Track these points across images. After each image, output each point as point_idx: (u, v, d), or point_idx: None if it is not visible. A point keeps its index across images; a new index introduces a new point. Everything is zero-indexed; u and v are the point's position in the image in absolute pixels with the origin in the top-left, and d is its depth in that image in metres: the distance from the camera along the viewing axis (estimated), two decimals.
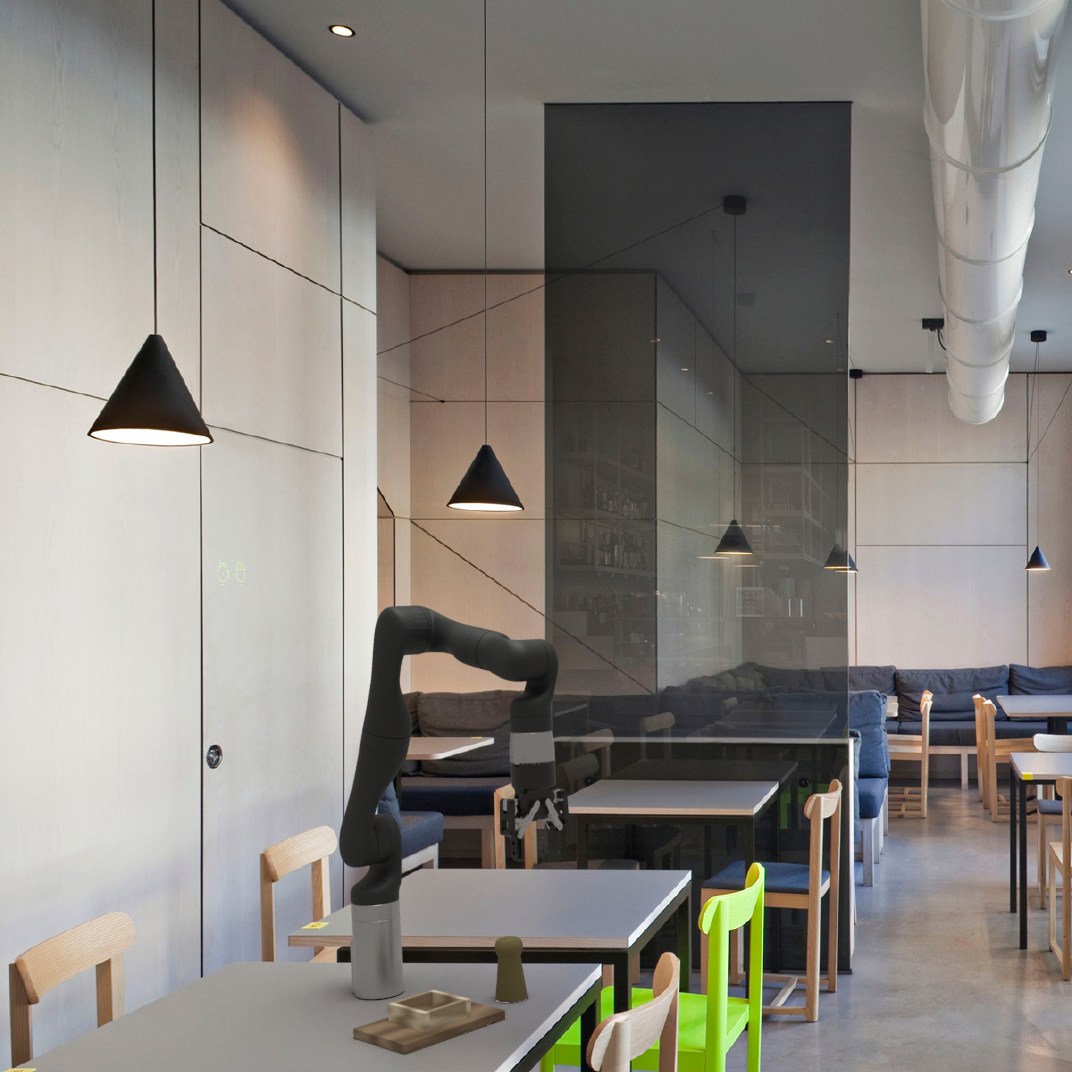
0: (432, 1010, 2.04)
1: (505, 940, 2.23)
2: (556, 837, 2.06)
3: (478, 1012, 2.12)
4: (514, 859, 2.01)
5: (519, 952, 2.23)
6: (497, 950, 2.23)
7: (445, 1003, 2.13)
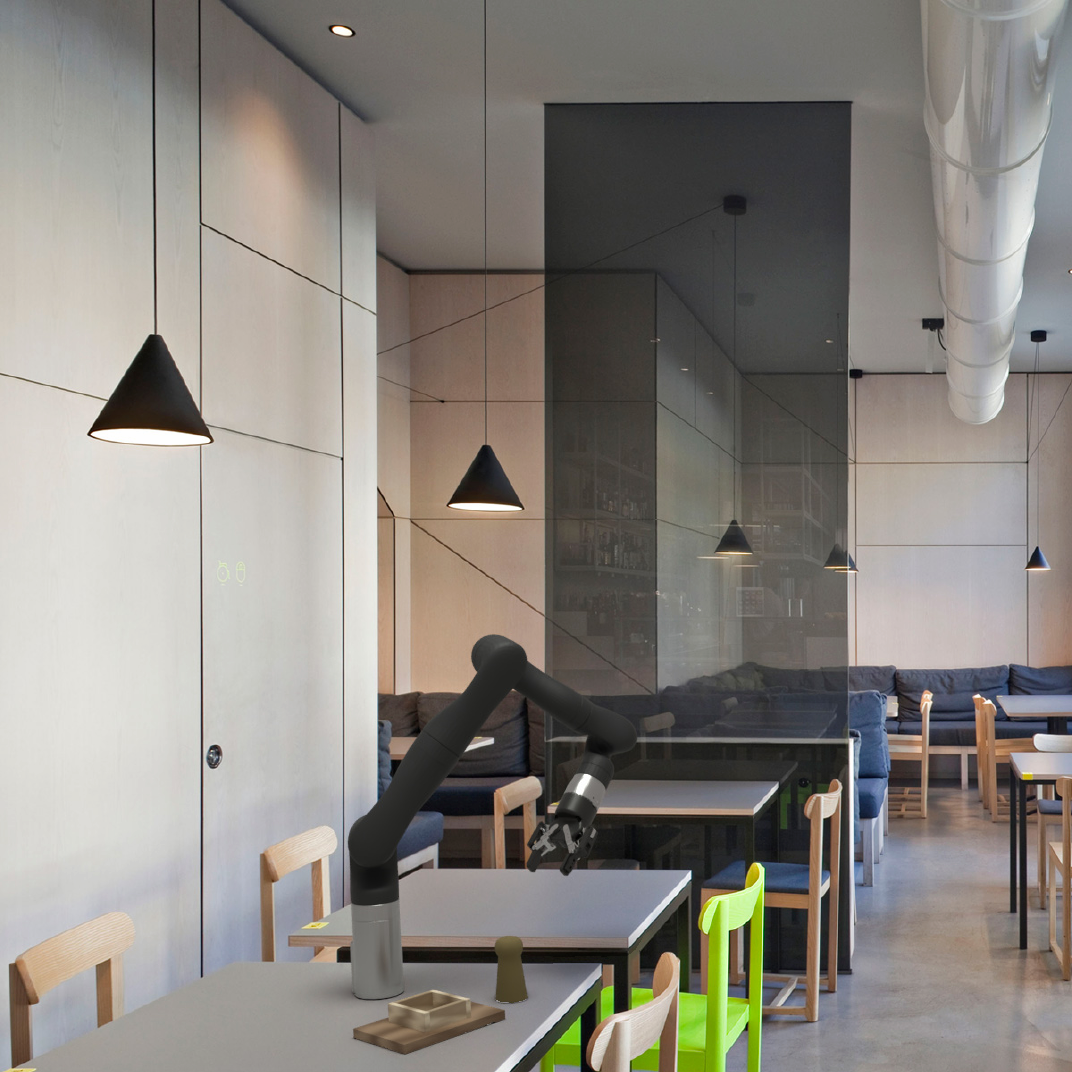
0: (432, 1010, 2.04)
1: (505, 940, 2.23)
2: (539, 861, 2.39)
3: (478, 1012, 2.12)
4: (563, 870, 2.31)
5: (519, 952, 2.23)
6: (497, 950, 2.23)
7: (445, 1003, 2.13)
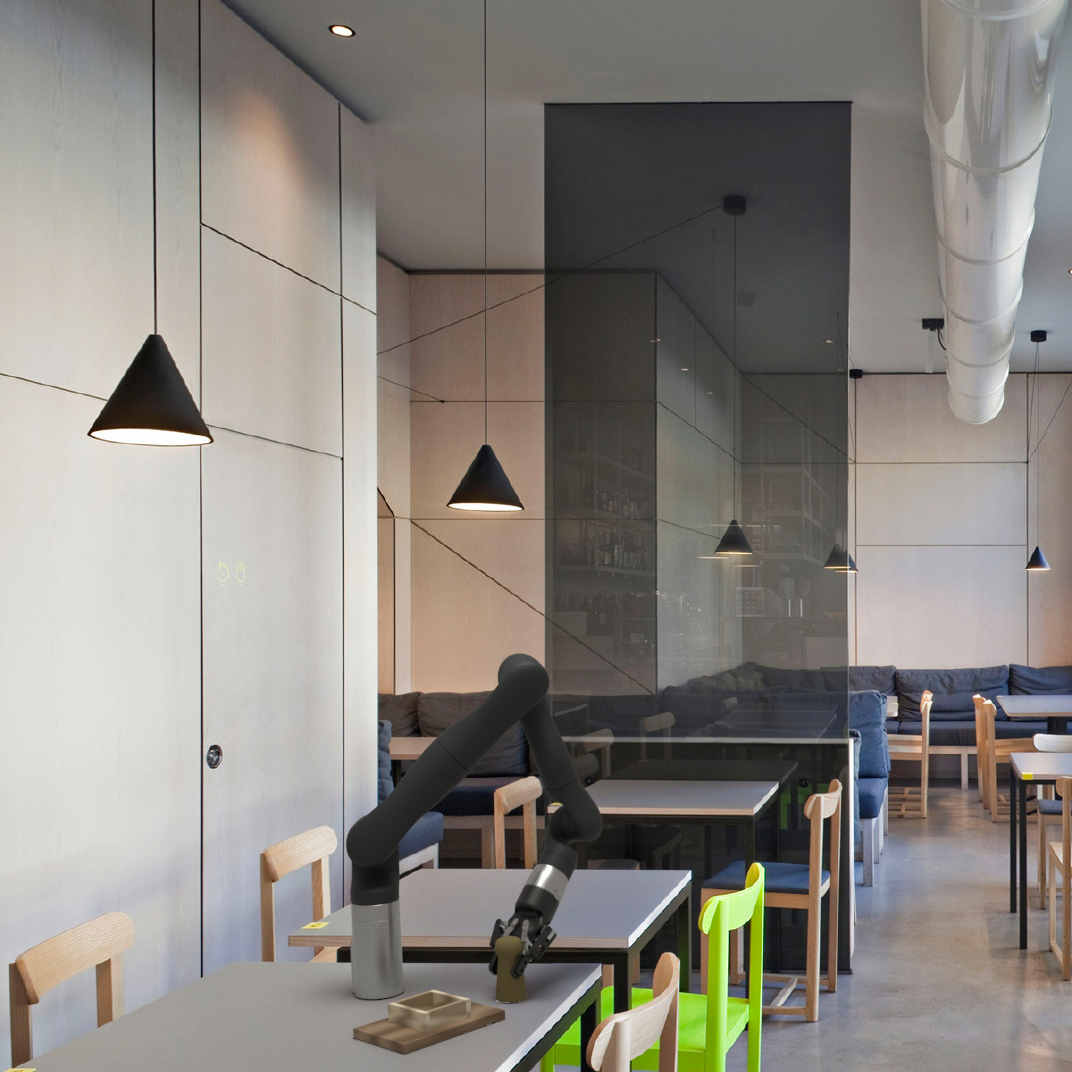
0: (432, 1010, 2.04)
1: (505, 940, 2.23)
2: None
3: (478, 1012, 2.12)
4: (514, 973, 2.21)
5: (519, 952, 2.23)
6: (497, 950, 2.23)
7: (445, 1003, 2.13)
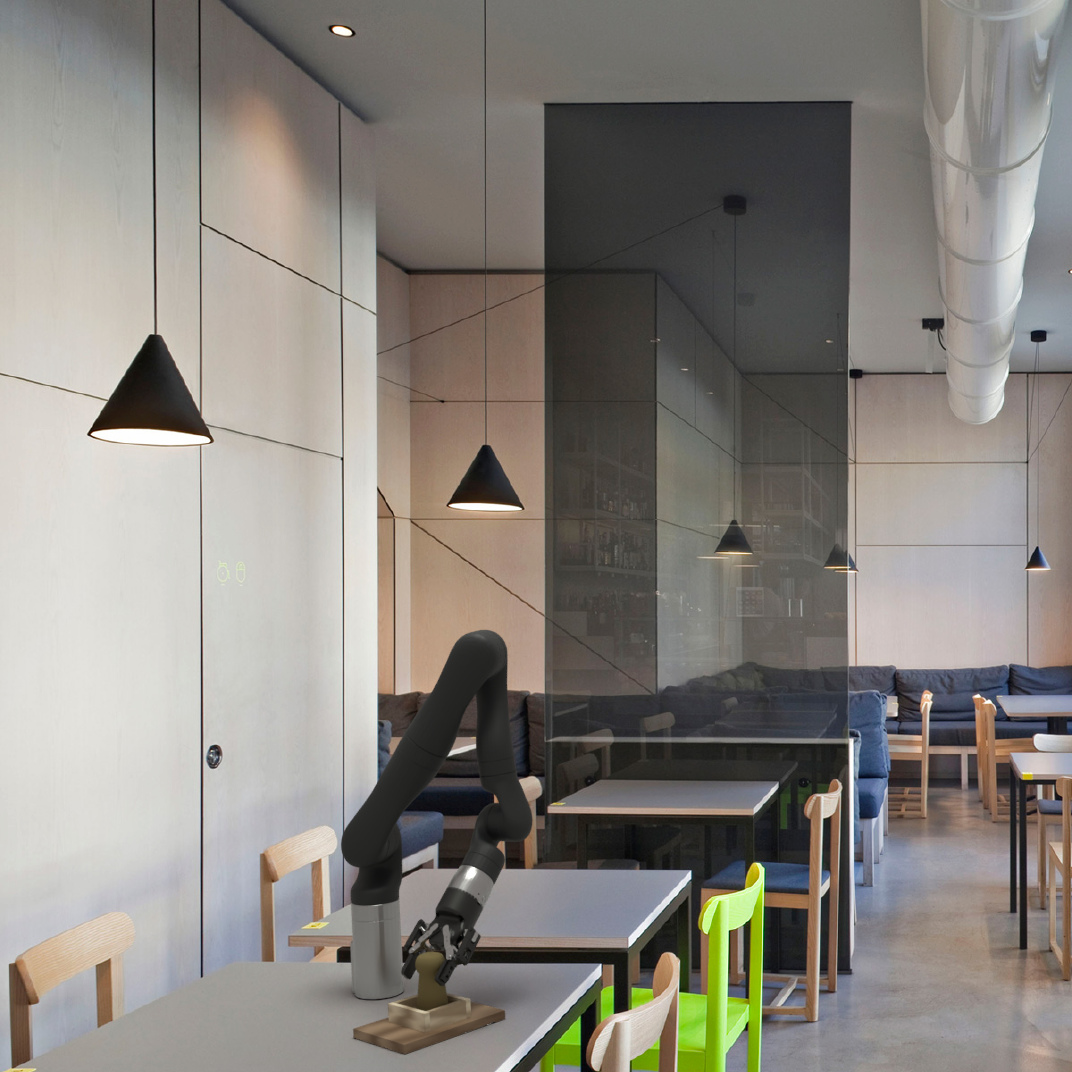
0: (432, 1010, 2.04)
1: (426, 957, 2.09)
2: None
3: (478, 1012, 2.12)
4: (438, 980, 2.06)
5: None
6: (417, 967, 2.09)
7: None
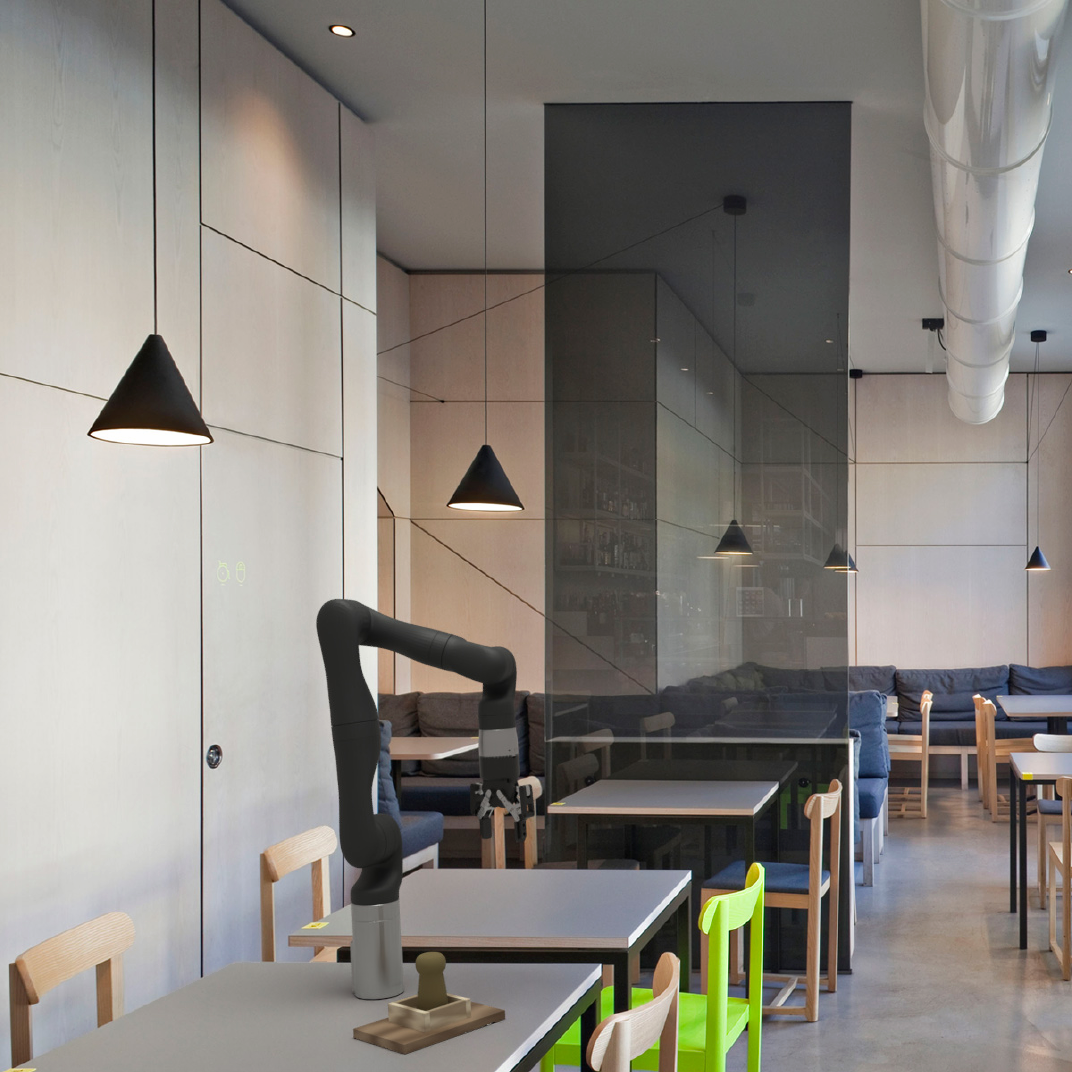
0: (432, 1010, 2.04)
1: (426, 957, 2.09)
2: (490, 823, 2.33)
3: (478, 1012, 2.12)
4: (519, 840, 2.26)
5: (441, 969, 2.09)
6: (417, 967, 2.09)
7: None
